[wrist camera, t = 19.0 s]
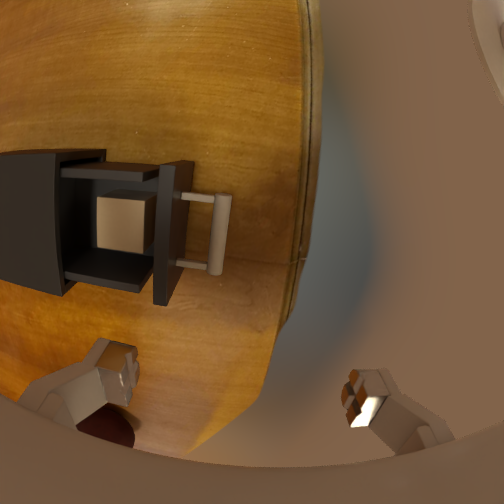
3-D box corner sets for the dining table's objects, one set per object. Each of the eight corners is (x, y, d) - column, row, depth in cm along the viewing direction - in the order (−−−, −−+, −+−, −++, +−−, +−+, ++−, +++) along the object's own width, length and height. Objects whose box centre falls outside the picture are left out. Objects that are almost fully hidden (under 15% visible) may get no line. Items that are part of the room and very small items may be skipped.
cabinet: (106, 149, 27) (55, 153, 18) (103, 258, 31) (62, 297, 22) (16, 150, 25) (-36, 158, 16) (18, 243, 30) (-26, 270, 21)
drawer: (237, 166, 27) (234, 172, 20) (222, 275, 31) (216, 314, 23) (76, 154, 26) (32, 159, 18) (76, 252, 29) (39, 280, 22)
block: (160, 192, 26) (144, 200, 22) (157, 237, 28) (143, 253, 24) (117, 188, 26) (96, 196, 22) (116, 232, 28) (97, 247, 23)
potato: (146, 432, 42) (136, 472, 34) (92, 423, 42) (78, 458, 33) (131, 403, 39) (116, 446, 31) (74, 394, 39) (54, 431, 30)
